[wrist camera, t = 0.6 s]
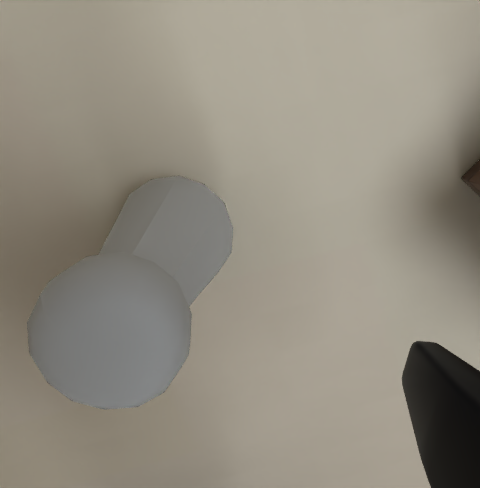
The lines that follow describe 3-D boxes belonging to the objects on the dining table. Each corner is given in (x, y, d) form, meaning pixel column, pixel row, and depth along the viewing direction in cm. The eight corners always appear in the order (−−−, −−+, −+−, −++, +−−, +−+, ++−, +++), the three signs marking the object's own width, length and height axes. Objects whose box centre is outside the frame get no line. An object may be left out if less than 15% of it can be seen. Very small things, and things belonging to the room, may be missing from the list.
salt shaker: (228, 163, 21) (196, 234, 9) (241, 263, 23) (230, 440, 11) (120, 176, 22) (-54, 263, 9) (142, 274, 23) (20, 457, 11)
